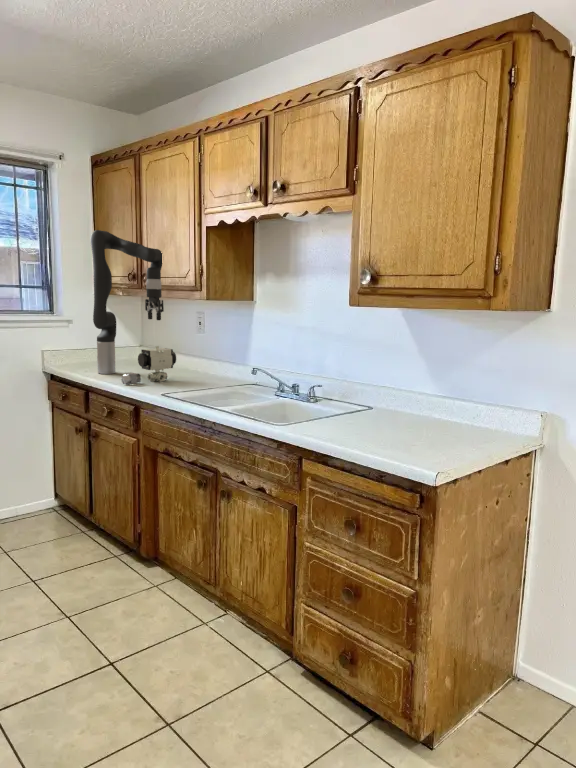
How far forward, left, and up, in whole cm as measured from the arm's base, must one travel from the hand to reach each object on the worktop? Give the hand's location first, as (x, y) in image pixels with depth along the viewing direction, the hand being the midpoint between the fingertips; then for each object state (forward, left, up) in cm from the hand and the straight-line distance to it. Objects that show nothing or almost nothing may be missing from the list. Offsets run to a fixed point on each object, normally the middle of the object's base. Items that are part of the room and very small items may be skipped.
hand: (154, 319), depth 297 cm
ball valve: (+13, -6, -30) cm, 34 cm away
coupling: (+13, -21, -30) cm, 39 cm away
